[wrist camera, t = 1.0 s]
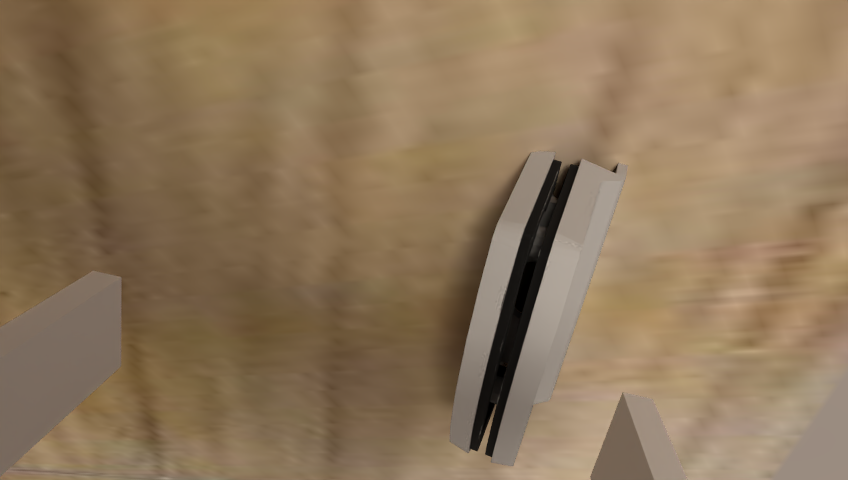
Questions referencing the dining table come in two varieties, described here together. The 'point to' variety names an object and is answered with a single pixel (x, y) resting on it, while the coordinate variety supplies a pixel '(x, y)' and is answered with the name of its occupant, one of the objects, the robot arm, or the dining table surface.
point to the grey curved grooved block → (530, 299)
